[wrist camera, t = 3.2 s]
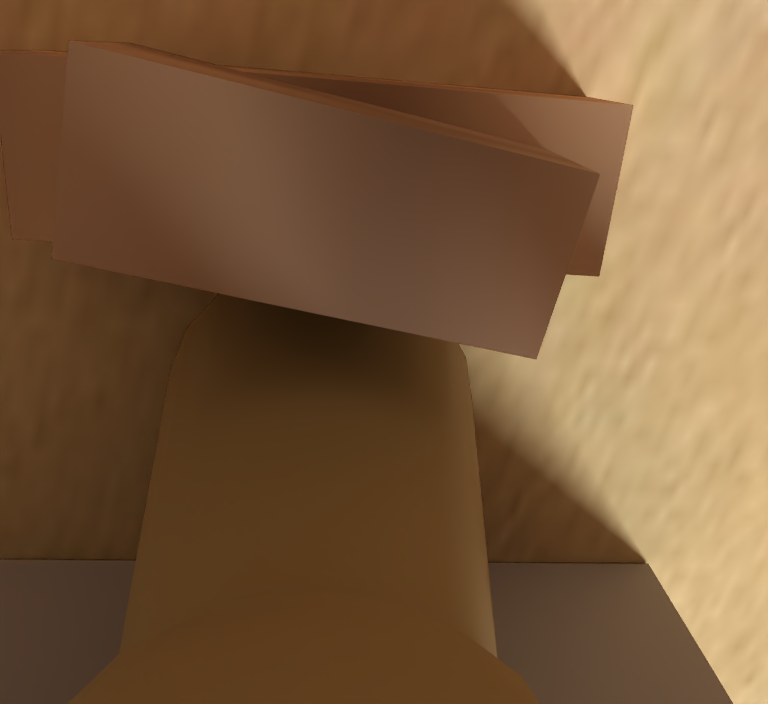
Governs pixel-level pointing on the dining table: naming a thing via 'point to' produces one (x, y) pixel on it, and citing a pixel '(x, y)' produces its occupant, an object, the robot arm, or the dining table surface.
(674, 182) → the dining table surface
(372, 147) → the offcut top
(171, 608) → the cork
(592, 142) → the offcut low
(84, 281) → the dining table surface
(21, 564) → the board
